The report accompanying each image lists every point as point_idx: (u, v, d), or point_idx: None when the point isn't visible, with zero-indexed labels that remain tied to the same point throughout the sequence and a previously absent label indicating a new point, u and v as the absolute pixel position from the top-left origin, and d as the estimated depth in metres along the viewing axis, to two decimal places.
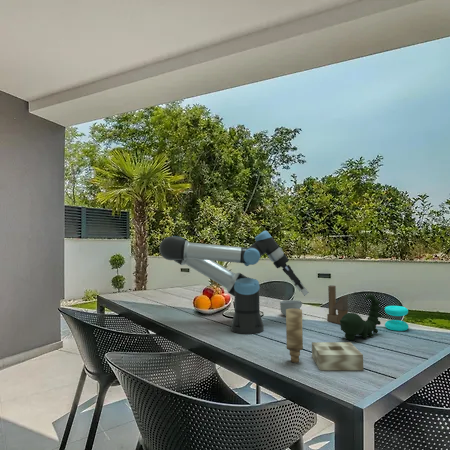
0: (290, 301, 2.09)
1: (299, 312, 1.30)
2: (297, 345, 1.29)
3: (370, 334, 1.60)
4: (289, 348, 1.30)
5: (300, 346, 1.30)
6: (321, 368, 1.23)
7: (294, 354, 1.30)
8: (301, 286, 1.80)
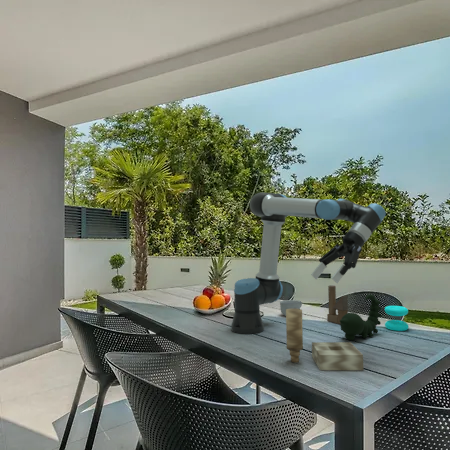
0: (290, 301, 2.09)
1: (299, 312, 1.30)
2: (297, 345, 1.29)
3: (370, 334, 1.60)
4: (289, 348, 1.30)
5: (300, 346, 1.30)
6: (321, 368, 1.23)
7: (294, 354, 1.30)
8: (345, 271, 1.32)
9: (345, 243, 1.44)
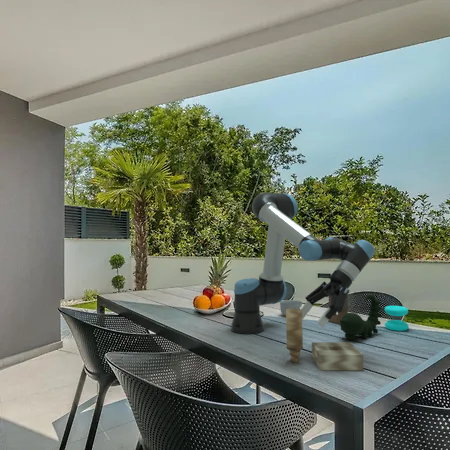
0: (290, 301, 2.09)
1: (299, 312, 1.30)
2: (297, 345, 1.29)
3: (370, 334, 1.60)
4: (289, 348, 1.30)
5: (300, 346, 1.30)
6: (321, 368, 1.23)
7: (294, 354, 1.30)
8: (331, 315, 1.26)
9: (332, 282, 1.38)
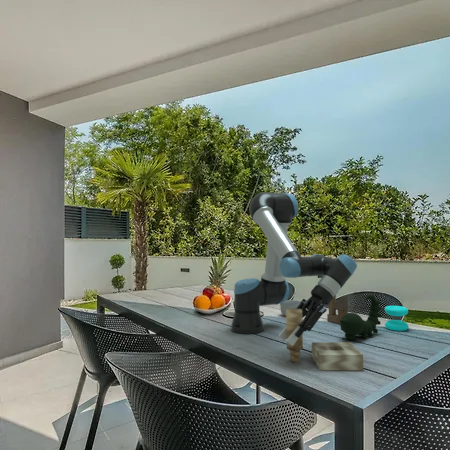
0: (290, 301, 2.09)
1: (299, 312, 1.30)
2: (297, 345, 1.29)
3: (370, 334, 1.60)
4: (289, 348, 1.30)
5: (300, 346, 1.30)
6: (321, 368, 1.23)
7: (294, 354, 1.30)
8: (300, 334, 1.28)
9: (313, 296, 1.37)
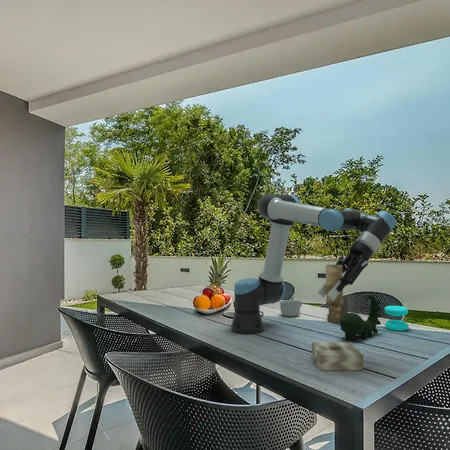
0: (290, 301, 2.09)
1: (340, 266, 1.28)
2: (338, 299, 1.28)
3: (370, 334, 1.60)
4: (330, 303, 1.29)
5: (341, 301, 1.28)
6: (321, 368, 1.23)
7: (335, 309, 1.29)
8: (342, 288, 1.26)
9: (352, 252, 1.36)
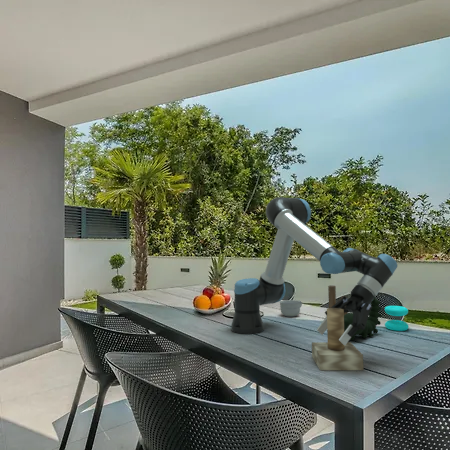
0: (290, 301, 2.09)
1: (341, 312, 1.28)
2: (339, 345, 1.27)
3: (370, 334, 1.60)
4: (331, 348, 1.28)
5: (342, 346, 1.28)
6: (321, 368, 1.23)
7: None
8: (353, 333, 1.23)
9: (353, 297, 1.35)
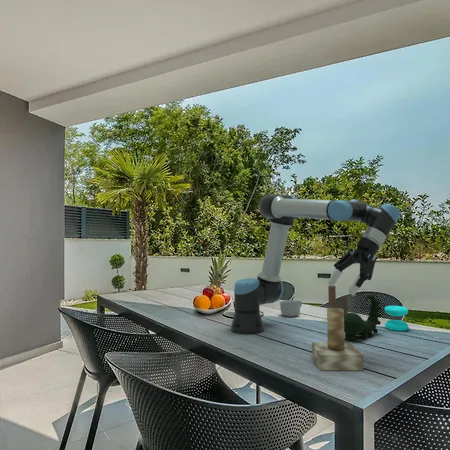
0: (290, 301, 2.09)
1: (341, 312, 1.28)
2: (339, 345, 1.27)
3: (370, 334, 1.60)
4: (331, 348, 1.28)
5: (342, 346, 1.28)
6: (321, 368, 1.23)
7: None
8: (361, 283, 1.31)
9: (359, 249, 1.41)
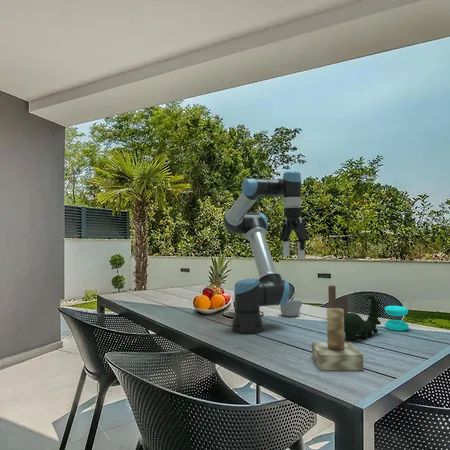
0: (290, 301, 2.09)
1: (341, 312, 1.28)
2: (339, 345, 1.27)
3: (370, 334, 1.60)
4: (331, 348, 1.28)
5: (342, 346, 1.28)
6: (321, 368, 1.23)
7: None
8: (303, 246, 1.53)
9: (288, 218, 1.62)
